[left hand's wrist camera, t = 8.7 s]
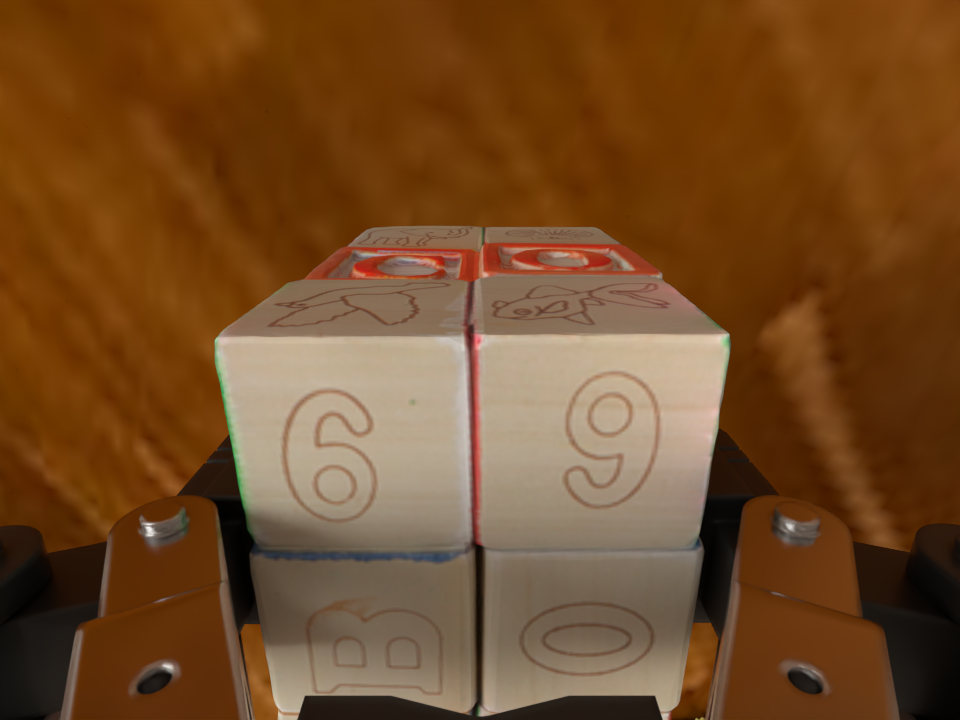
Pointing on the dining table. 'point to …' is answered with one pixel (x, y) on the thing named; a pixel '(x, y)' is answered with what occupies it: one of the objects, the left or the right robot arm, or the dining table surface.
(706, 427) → the stack of blocks
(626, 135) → the dining table surface
